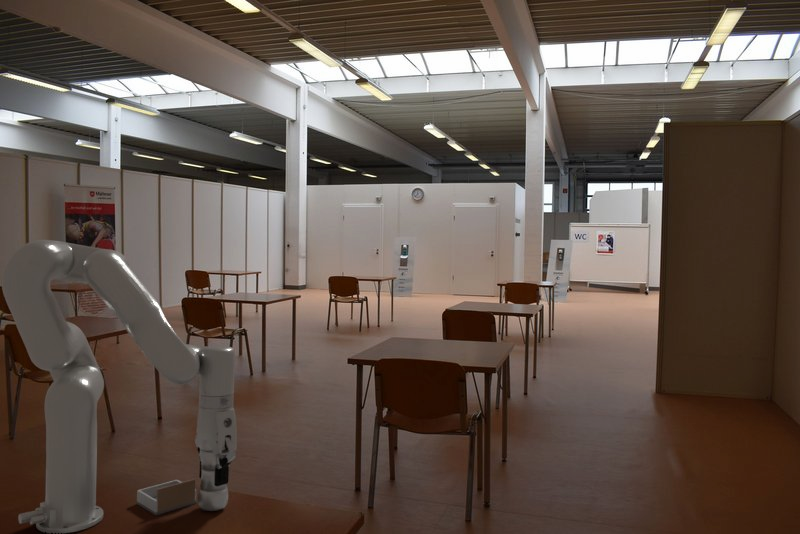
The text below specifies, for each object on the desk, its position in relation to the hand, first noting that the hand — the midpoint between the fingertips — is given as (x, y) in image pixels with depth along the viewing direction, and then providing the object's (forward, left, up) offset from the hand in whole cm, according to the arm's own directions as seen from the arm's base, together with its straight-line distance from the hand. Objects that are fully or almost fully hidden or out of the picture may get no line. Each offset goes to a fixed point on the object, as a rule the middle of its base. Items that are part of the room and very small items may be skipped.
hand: (213, 480), depth 140 cm
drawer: (-6, +10, -7) cm, 13 cm away
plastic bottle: (0, 0, -7) cm, 7 cm away
